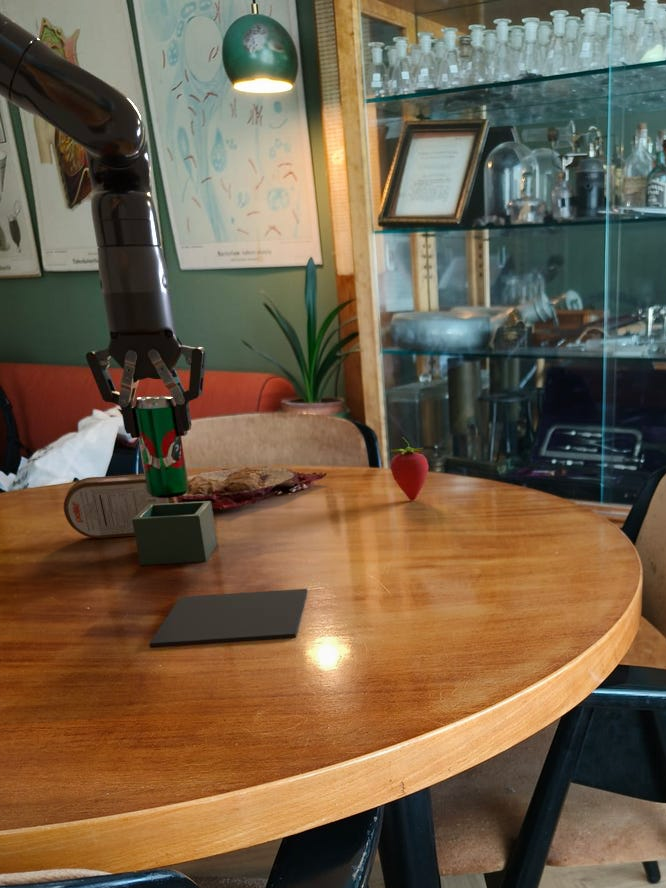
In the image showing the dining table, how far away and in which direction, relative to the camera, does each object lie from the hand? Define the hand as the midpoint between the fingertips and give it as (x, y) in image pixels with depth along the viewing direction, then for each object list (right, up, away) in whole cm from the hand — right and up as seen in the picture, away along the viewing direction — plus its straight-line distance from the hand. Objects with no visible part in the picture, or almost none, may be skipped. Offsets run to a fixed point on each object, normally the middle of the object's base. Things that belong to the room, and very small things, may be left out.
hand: (159, 435), depth 110 cm
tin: (-11, -11, +16) cm, 22 cm away
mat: (+14, -23, -17) cm, 32 cm away
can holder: (+1, -14, +6) cm, 15 cm away
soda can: (0, -7, +3) cm, 8 cm away
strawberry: (+29, -3, +31) cm, 42 cm away
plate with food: (-3, -1, +40) cm, 40 cm away
